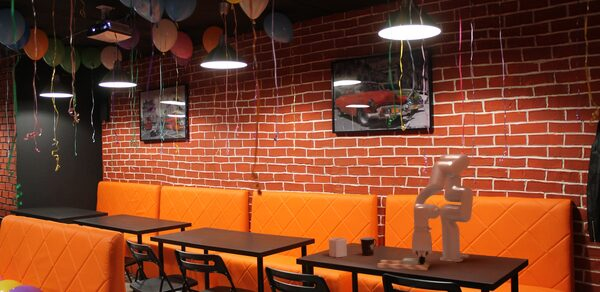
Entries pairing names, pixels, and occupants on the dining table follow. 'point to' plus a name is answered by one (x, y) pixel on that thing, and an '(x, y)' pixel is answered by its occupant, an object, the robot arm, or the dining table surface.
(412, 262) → the grayish brown block
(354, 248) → the dining table surface
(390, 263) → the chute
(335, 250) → the white box
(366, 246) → the coffee mug
